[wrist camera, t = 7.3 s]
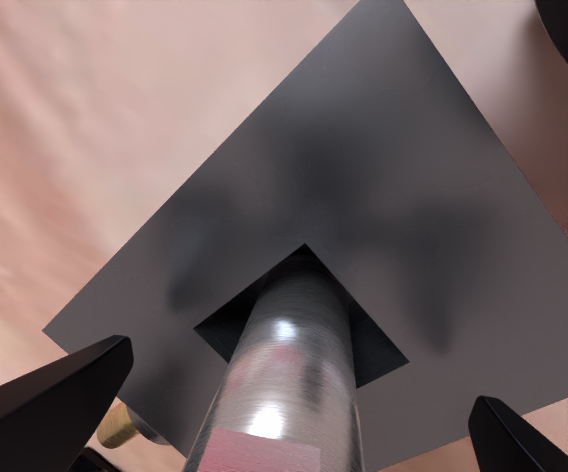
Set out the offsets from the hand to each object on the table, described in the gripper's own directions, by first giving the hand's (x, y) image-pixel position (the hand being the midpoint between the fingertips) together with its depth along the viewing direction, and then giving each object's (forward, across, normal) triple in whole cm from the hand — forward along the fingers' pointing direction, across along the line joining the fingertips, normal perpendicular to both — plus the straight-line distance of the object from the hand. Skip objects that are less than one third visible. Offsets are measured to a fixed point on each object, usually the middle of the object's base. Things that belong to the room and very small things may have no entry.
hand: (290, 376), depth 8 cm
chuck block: (+6, +2, +2) cm, 7 cm away
